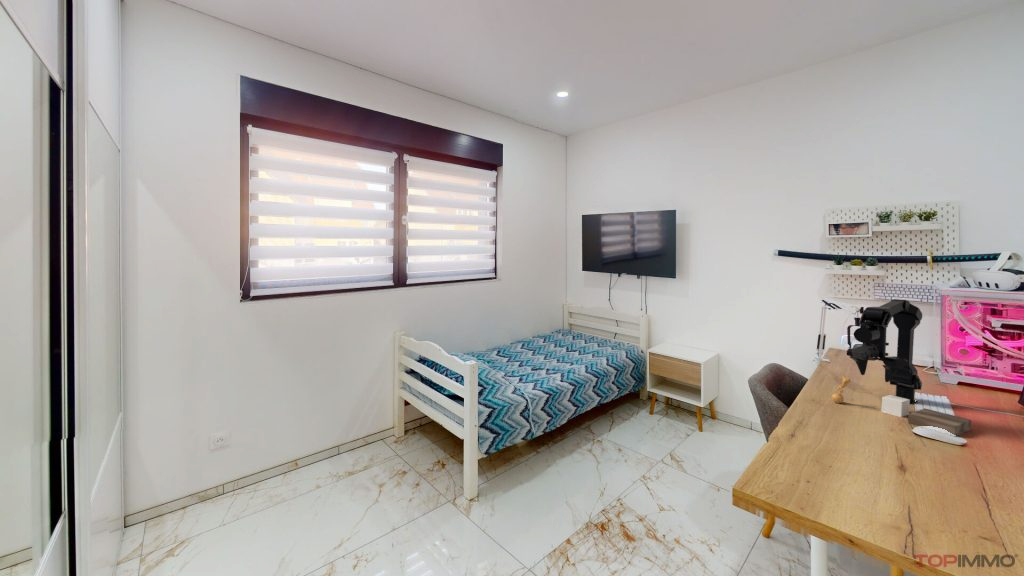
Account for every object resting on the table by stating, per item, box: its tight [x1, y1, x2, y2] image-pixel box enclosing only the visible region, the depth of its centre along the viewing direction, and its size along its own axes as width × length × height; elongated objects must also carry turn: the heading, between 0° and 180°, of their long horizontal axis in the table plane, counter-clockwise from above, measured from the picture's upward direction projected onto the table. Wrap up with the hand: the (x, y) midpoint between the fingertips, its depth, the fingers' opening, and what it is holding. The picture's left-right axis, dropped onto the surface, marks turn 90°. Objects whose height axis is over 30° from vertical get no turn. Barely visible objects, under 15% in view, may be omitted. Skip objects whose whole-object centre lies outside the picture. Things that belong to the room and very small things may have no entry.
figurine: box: [831, 375, 851, 404], centre depth 164 cm, size 8×6×12 cm
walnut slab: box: [907, 408, 972, 436], centre depth 141 cm, size 12×12×4 cm
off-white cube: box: [881, 394, 910, 418], centre depth 154 cm, size 6×6×6 cm
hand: (874, 378), depth 154 cm, fingers open, 9 cm apart
